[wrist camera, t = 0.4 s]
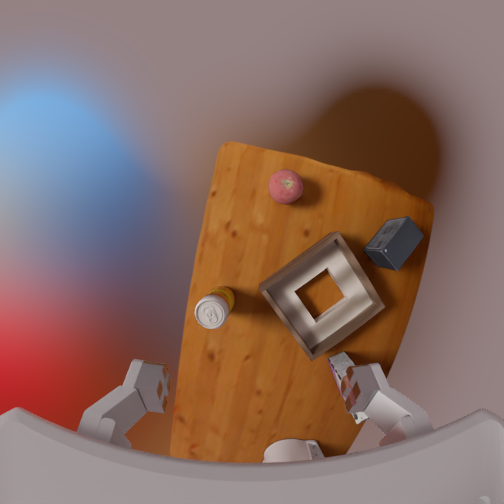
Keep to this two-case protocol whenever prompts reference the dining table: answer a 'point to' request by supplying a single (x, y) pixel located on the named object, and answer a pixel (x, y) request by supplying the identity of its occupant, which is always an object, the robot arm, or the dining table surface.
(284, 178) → the apple
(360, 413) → the candy bar box
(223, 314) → the beer can
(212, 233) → the dining table surface
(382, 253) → the small box
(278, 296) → the wooden box
